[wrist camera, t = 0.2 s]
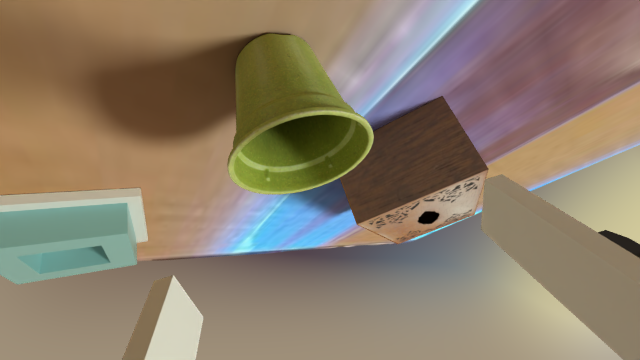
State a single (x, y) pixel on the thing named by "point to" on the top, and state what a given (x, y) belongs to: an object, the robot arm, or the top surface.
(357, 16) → the top surface
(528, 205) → the robot arm
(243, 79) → the plant pot
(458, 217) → the tissue box cover
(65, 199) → the socket
